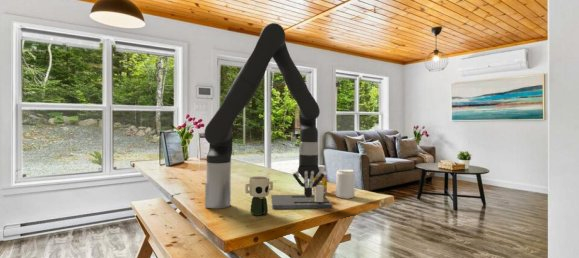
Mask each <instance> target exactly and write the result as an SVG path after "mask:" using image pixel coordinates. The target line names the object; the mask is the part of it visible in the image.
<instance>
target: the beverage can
mask: <svg viewBox="0 0 579 258" xmlns="http://www.w3.org/2000/svg"><path fill="white" fill-rule="evenodd" d="M355 176H356V174H355V171H354V169H350V168H340V169H337V170H336V176H335V181H336V182H335V183H336V184H335V185H336V188H335V196H336V197H338V198H340V199H342V200H343V199H345V200H348V199H352V198H354V197H355V185H356V183H355V182H356V177H355Z"/></svg>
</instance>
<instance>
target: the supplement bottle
mask: <svg viewBox="0 0 579 258" xmlns="http://www.w3.org/2000/svg"><path fill="white" fill-rule="evenodd" d="M318 168H319V171H320V172H321V173H323V174H324V177H323V178H322V180H321V181H322V182H323V187H324V190H323V195H325V194H327V193H328V172H327V171H326V170H325V169H326V165H321V164H318ZM317 177H318V174H317V175H316V177H315V178H314V179H313V182H314V181H315V180H316V179H317ZM312 194H315V187H313V188H312Z"/></svg>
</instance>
